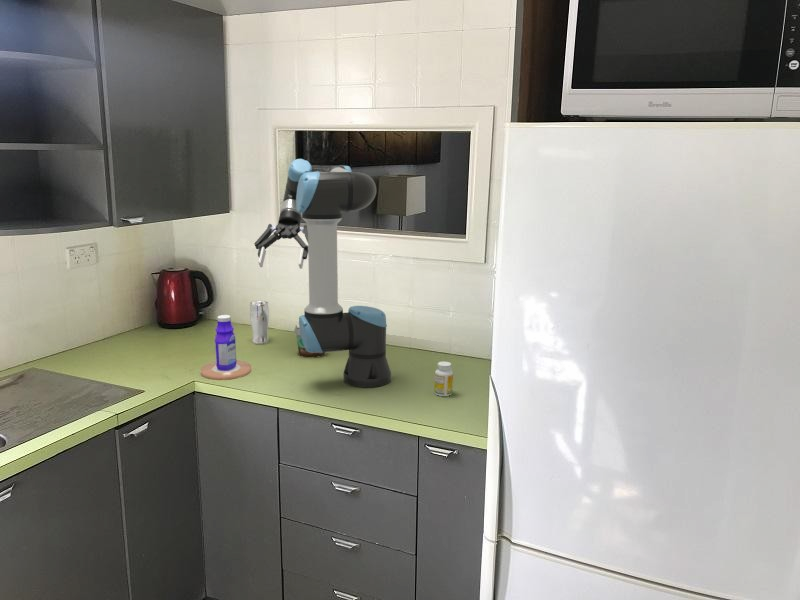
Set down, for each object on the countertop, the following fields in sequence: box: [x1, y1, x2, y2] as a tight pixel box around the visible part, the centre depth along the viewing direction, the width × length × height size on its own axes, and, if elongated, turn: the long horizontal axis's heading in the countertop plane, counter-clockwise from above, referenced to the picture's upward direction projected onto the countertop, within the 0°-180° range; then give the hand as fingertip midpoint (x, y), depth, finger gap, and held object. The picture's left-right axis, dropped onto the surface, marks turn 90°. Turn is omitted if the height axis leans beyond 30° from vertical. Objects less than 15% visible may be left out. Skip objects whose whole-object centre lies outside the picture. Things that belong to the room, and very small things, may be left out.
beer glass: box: [249, 300, 270, 345], centre depth 243 cm, size 7×7×15 cm
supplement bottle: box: [433, 361, 454, 397], centre depth 196 cm, size 5×5×10 cm
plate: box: [200, 359, 252, 381], centre depth 213 cm, size 16×16×1 cm
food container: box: [293, 324, 326, 358], centre depth 228 cm, size 12×6×10 cm, turn 80°
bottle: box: [214, 314, 237, 371], centre depth 211 cm, size 7×6×17 cm
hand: (280, 265), depth 218 cm, fingers open, 13 cm apart
